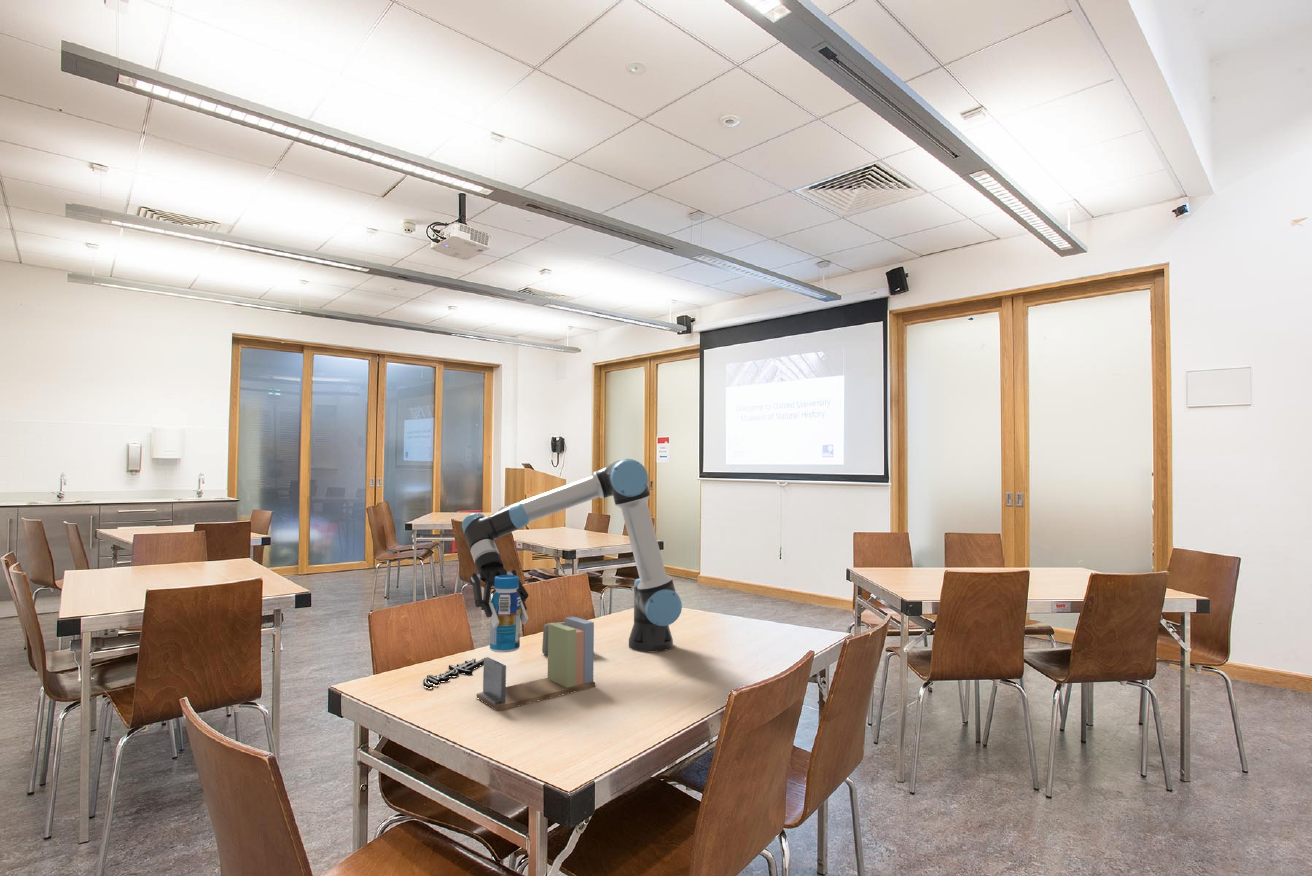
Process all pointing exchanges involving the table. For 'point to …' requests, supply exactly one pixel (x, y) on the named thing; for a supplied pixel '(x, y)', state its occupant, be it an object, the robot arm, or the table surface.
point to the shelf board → (534, 692)
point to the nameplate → (453, 672)
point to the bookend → (494, 681)
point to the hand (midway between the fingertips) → (511, 623)
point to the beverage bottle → (506, 614)
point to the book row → (571, 652)
